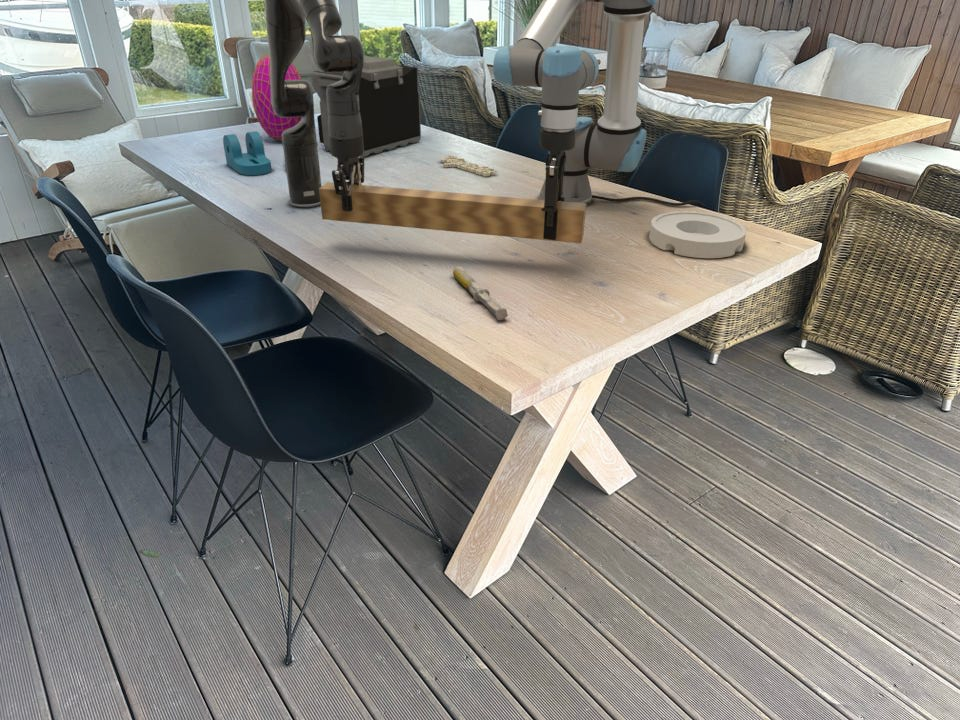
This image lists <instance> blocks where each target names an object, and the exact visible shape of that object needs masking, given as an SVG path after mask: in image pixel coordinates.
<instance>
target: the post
mask: <svg viewBox="0 0 960 720" xmlns="http://www.w3.org/2000/svg"><path fill="white" fill-rule="evenodd" d="M321 186H322V187H320V188H319V195H320V203H321V205H320V209H321V210H320V212H321V220H325V221H336V222H347V223H359V224H368V225H369V224H370V225H377V226H378V225H379V226H387V227H388V226H389V227H400V228H410V229H420V230H421V229H422V230H432V231H443V232H453V233H464V234H476V235H486V236H496V237H507V238H517V239H529V240H539V241H550V242H561V243H572V244H582V242H583V239H584V234H585V222H586V214H587V213H586V212H587V205H586V204H585V203H573V202H561V201H558V202H557V210H558V214H557V230H556V240H550V239H543V236H544V218H545V211H542V208H544V200H540V199H537V198H536V199H535V198H522V197H511V196H498V195H488V194H474V193H464V192H463V193H462V192H451V191H438V190H427V189H426V190H425V189H414V188H400V187H390V186H378V185H376V186H375V185H367V184H366V185H365V184H362V185H355V184H353V186H351V198H352V210H351V211H350V212H349V211H343V209H342V199H341V195H336V191H335V187H334V182H331V181H327V182H326V183H324V184H323V185H321Z"/></svg>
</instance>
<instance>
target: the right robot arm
mask: <svg viewBox="0 0 960 720" xmlns="http://www.w3.org/2000/svg"><path fill="white" fill-rule="evenodd" d="M659 1H660V0H542V1H541V3H540V4H539V6H538V8H537V9H536V11H535V12H534V14H533V15H532V17H531V19H530V21H529V22H528V24H527V25H526V27H525V28H524V30H523V32H522V33H521V34H520V35H519V38H518V39H517V41H516V42H515V44H514V45H513V46H512V47H511V46H507V47H501V48H499V49H497V50H496V52H495V54H494V57H493V65H492V69H493V70H492V71H493V76H494V79H495V81H496V82H497V83H498V84H502V85H509V86H511V87H515V86H517V87H530V88H531V87H533V88H541V103H540V106H541V108H540V110H538V111H537V115H538V116H541V117H540V124H539V125H540V127H541V128H540V130H539V141H538V146H539V147H540V148H541V149H542V150H546V151H548V154H547V157H545V178H544V181H543V184H542V187H541V189H540V192H539V200H544V208H542V211H545V218H544V236H543V239H550V240H556V230H557V214H558V210H557V202H558V201H561V202H573V203H585V204H586V206H588V205H589V204H591V203H592V199H595V200H602V201H606V202H615V203H616V202H618V203H619V202H627V201H650V202H653V203H657V204H661V205H662V204H663V205H666V206H671V207H681V206H682V207H683V206H686V205H691V204H697V205H698V206H699V207H704V206H705V205H704V204H703V203H702V202H701V201H699V200H697V199H691V200H688V201H682V202H671V201H666V200H663V199H658V198H653V197H647V196H631V197H630V196H629V197H622V198H611V197H606V196H601V195H595V194H593V193H592V188H591V184H590V179H589V168H591V169H597V170H598V169H599V170H606V171H612V172H617V173H619V172H624V173H631V172H633V171H635V170H636V169H637V167H638V165H639V163H640V162H641V161H640V160H641V159H642V155H643V152H644V149H645V145H646V142H647V133H648V132H647V130H646V129H644V128H641V127H642V120H641V118H639V117H638V115H637V107H638V98H639V97H638V95H639V85H640V75H641V74H640V73H641V63H642V52H643V51H642V50H643V41H644V40H643V39H644V30H645V29H644V28H645V19H646V18H647V17H648V15H649V14H650V13H652V10H653V6H654V5H656V4H658V2H659ZM590 2H591V3H592V2H595V3H603V13H604V14H605V15H606V16H607V18H608V20H609V21H608V36H607V50H606V51H607V52H606V53H607V54H606V68H605V69H606V70H605V87H604V88H605V89H604V101H603V114H602V115H601V116H600V117H599V118H598V119H597V124H595V123H594V121H593V118H592V117H587V116H578V113H579V95H580V91H581V90H585V89H587V88H588V87H590V86H591V84H593V83H594V82H595V80H596V79H597V77H598V75H599V72H600V71H599V70H600V66H599V61H598V59H597V57H596V55H595V54H594V53H592V52H591V51H589V50H586V49H580V48H579V47H577V46H571V45H555V44H556V43H557V41H558V40H559V38H560V36H561V34H562V33H563V31H564V29H565V28H566V26H567V24H568V22H570V21H569V20H570V19H571V17H572V16H573V14H574V12H575V11H576V10H579V9H580V8H581V7H582V6H583V5H584V3H590Z"/></svg>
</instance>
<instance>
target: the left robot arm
mask: <svg viewBox="0 0 960 720" xmlns="http://www.w3.org/2000/svg"><path fill="white" fill-rule="evenodd" d="M264 9H265V10H264V11H265V14H264V15H265V26H266V27H265V29H266V36H267V45H268V55H270V92H271V104H272V108H273V111H274V113H275V114H276V116H278V117H283V118H286V117H302V118H301V120H300V122H299V123H297V124H296V125H295V126H293V127H291V128H289V129H287V130H285V131H284V132H283V133H282V141H281V142H282V149H283V150H282V151H283V157H284V162H285V164H284V165H285V171H286V179H287V180H286V181H287V186H288V187H287V188H288V195H289V204H290V206H292V207H296V208H303V209H305V208H307V209H308V208H314V207H315V208H316V207H319V206H321V203H320V195H319V188H320V187H322V186H323V185H322V179H321V177H322V175H321V168H320V167H321V166H320V159H319V150H318V141H317V132H316V121H315V106H314V105H315V104H314V93H313V92H314V91H313V88H312V84H311V83H310V81H308V79H301V80H285V77H286V73H287V71H288V68H289V67H290V65H291V63H293V62H294V60H295V59H296V57H297V56H299V55H298V54H300V52H301V50H302V48H303V46H304V44H305V42H306V37H307V36H306V33H307V32H306V30H307V29H306V22H307V24H308V27H309V31H310V35H311V42H312V52H313V53H312V54H313V60H314V63H315V65H316V66H317V67H318V69H319V70H320V71H321V72H327V73H333V72H344V75H343V77H342V79H341V80H340V81H338V82H336V83H333V84H331V85H329V86H328V87H327V88H326V99H327V109H328V130H329V141H330V150H329V152H330V155H331V156H332V157H334V158H336V160H337V164H336V165H337V167H336V168H337V169H336V170H334V169H333V170H332V171H331V176H332V181H333V182H332V183H334V187H335V191H336V195H341V199H342V209H343V211H349V212H350V211H351V210H352V198H351V186H353V184H355V185H363V184H364V183H365V157H360V156H362V155H363V154H364V144H363V130H362V120H361V116H360V105H359V87H360V80H361V74H362V69H363V64H364V56H365V49H364V46H363V44H362V42H361V40H360V39H359V38H358V37H357V36H356V35H354V34H342V35H336V34H338V33H339V31H340V30H341V29H342V25H343V21H342V17H341V14H340V12H339V10H338V7H337V5H336V3H335V1H334V0H264Z"/></svg>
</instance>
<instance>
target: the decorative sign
mask: <svg viewBox="0 0 960 720" xmlns="http://www.w3.org/2000/svg"><path fill="white" fill-rule="evenodd" d="M440 163H443V167H444V168H451V167H452V168H457V169H461V170H464V171H467V172H470V173H475V174H476V175H480V176H483V177H491V176H496V171H495V168H494V167H489V166H487V165H484V166H483V165H481V166H479V164H478V163H473V162H465V158H464V157H459V158H458V156H457V155H451V154H449V155H448V157H442V158H441V159H440Z"/></svg>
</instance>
